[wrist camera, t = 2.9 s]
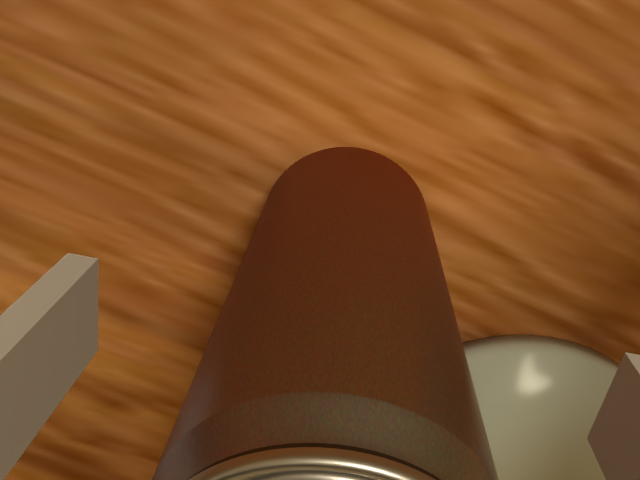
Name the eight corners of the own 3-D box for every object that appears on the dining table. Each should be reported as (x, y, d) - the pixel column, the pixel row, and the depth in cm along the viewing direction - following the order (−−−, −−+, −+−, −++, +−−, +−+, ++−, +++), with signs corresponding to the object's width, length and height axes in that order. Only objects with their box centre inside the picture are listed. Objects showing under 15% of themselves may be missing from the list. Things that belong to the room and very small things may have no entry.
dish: (337, 535, 29) (336, 557, 28) (392, 310, 24) (393, 326, 23) (599, 579, 30) (608, 603, 28) (712, 364, 24) (729, 383, 23)
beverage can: (438, 273, 23) (546, 708, 10) (289, 301, 24) (195, 733, 11) (410, 124, 21) (498, 418, 7) (247, 161, 22) (55, 482, 8)
